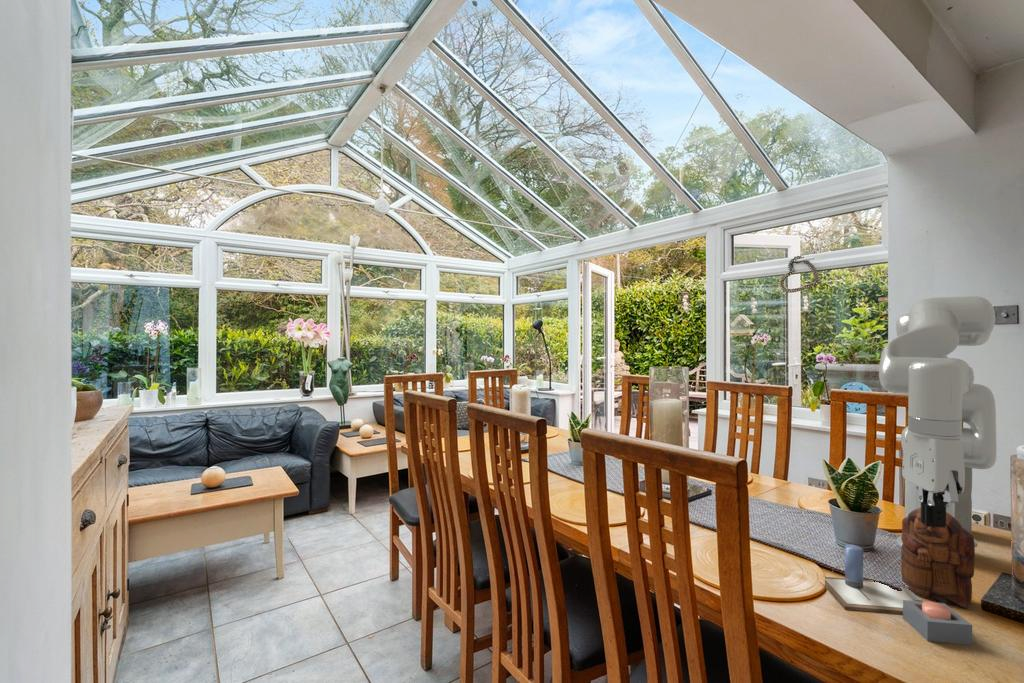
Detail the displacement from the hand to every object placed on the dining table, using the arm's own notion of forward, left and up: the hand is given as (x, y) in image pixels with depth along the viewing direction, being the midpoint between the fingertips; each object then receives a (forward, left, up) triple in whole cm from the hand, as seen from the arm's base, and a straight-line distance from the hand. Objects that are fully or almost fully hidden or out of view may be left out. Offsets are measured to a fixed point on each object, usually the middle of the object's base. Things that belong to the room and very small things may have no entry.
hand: (933, 524), depth 91 cm
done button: (0, +1, -18) cm, 18 cm away
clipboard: (+5, -10, -19) cm, 22 cm away
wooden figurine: (-8, -12, -19) cm, 24 cm away
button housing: (0, +1, -19) cm, 19 cm away
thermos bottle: (-35, -50, -19) cm, 64 cm away
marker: (+7, -13, -18) cm, 24 cm away
